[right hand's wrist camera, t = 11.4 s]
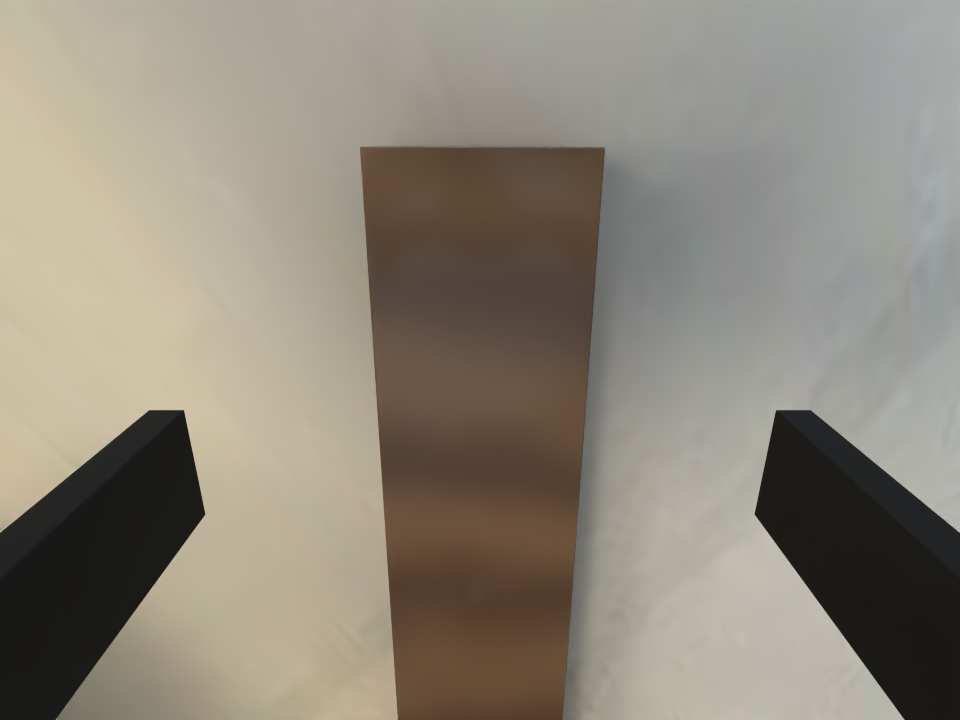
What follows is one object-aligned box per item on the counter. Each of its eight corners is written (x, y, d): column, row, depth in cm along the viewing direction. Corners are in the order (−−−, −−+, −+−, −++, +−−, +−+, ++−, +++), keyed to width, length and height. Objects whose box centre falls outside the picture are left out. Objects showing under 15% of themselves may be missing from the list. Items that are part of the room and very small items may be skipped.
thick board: (388, 146, 30) (359, 146, 23) (577, 146, 30) (605, 147, 23) (426, 906, 54) (417, 1020, 47) (533, 907, 54) (540, 1021, 47)
